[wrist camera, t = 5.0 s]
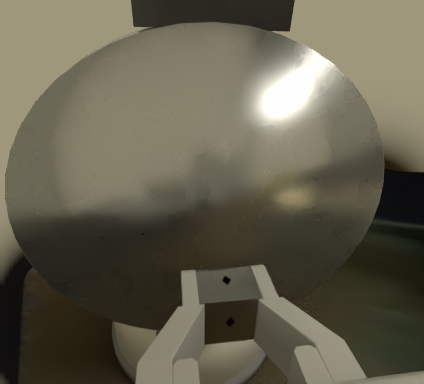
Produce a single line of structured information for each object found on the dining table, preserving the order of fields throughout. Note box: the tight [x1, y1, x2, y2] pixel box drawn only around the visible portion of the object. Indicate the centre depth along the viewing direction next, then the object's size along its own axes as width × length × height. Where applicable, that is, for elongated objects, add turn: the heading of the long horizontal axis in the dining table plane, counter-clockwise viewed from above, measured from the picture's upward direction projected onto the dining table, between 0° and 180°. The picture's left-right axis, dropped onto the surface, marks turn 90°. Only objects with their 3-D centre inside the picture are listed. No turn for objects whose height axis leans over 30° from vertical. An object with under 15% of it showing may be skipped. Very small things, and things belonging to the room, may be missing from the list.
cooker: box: [112, 321, 267, 384], centre depth 29 cm, size 18×21×11 cm
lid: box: [5, 0, 384, 331], centre depth 14 cm, size 19×17×2 cm
